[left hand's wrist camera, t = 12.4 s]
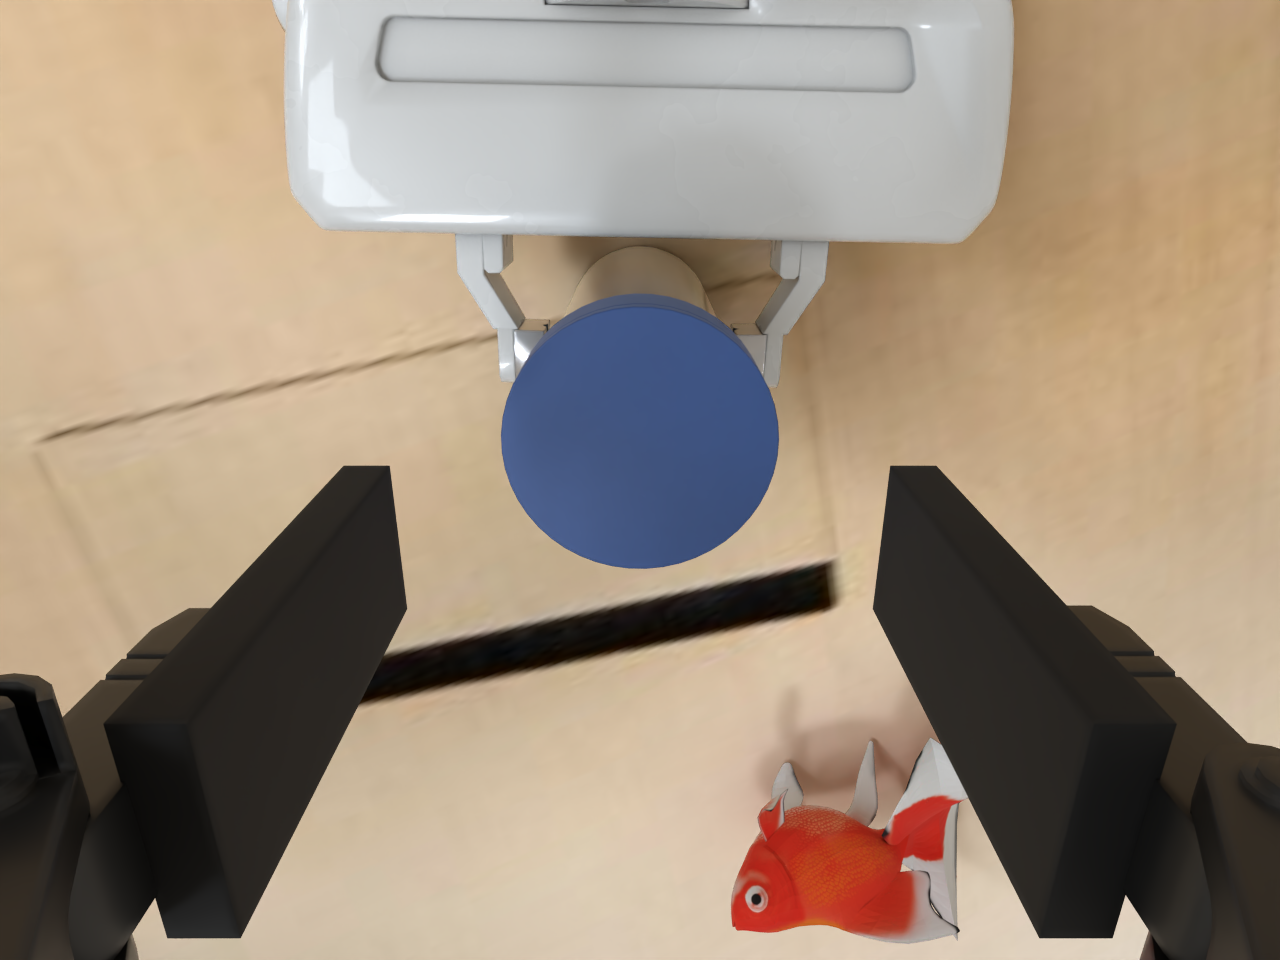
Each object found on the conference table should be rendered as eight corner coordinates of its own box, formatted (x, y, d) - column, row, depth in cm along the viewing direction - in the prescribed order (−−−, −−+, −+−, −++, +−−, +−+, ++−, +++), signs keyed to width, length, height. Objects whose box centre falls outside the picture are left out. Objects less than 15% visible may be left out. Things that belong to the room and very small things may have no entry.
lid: (818, 436, 20) (834, 461, 18) (625, 580, 22) (624, 615, 20) (656, 235, 18) (658, 243, 17) (459, 407, 20) (442, 430, 18)
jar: (736, 325, 33) (806, 453, 19) (632, 410, 34) (626, 586, 20) (648, 215, 31) (655, 267, 17) (542, 308, 32) (470, 426, 19)
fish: (685, 735, 34) (832, 973, 27) (970, 605, 39) (1152, 777, 33) (678, 855, 41) (793, 1068, 34) (920, 731, 46) (1061, 893, 40)
